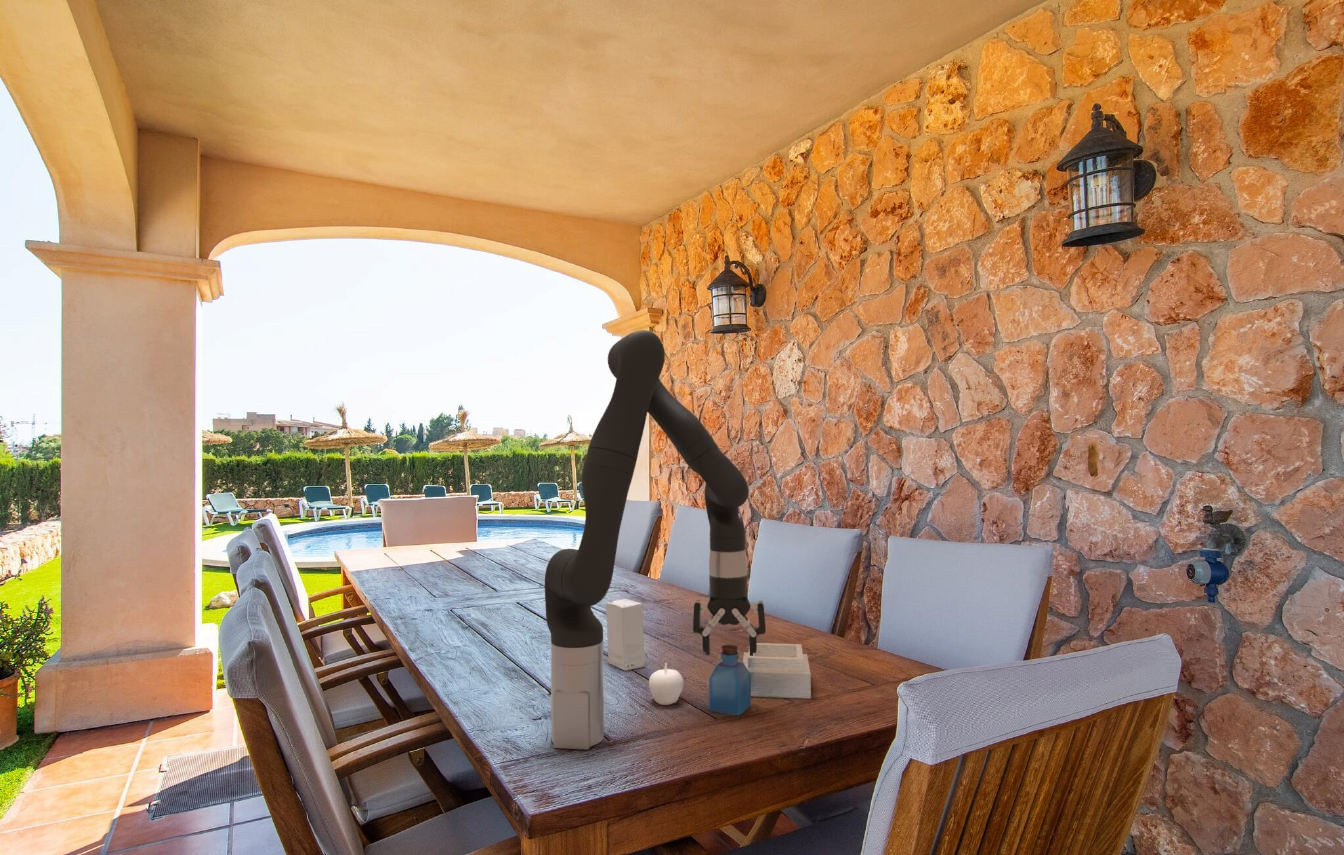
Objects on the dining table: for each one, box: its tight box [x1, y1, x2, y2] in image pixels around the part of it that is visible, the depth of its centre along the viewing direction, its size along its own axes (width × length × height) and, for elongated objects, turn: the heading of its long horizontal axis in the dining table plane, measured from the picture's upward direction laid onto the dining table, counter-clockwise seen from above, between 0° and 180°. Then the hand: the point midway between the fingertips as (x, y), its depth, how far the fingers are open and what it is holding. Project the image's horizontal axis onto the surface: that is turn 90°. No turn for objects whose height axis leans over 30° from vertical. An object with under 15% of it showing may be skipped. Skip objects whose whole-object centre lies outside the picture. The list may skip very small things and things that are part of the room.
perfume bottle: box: [708, 644, 752, 717], centre depth 143 cm, size 6×6×12 cm
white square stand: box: [742, 642, 812, 700], centre depth 155 cm, size 14×14×8 cm
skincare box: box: [605, 598, 646, 671], centre depth 171 cm, size 8×6×15 cm
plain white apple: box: [648, 662, 684, 706], centre depth 146 cm, size 7×7×8 cm
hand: (729, 654), depth 143 cm, fingers open, 8 cm apart
